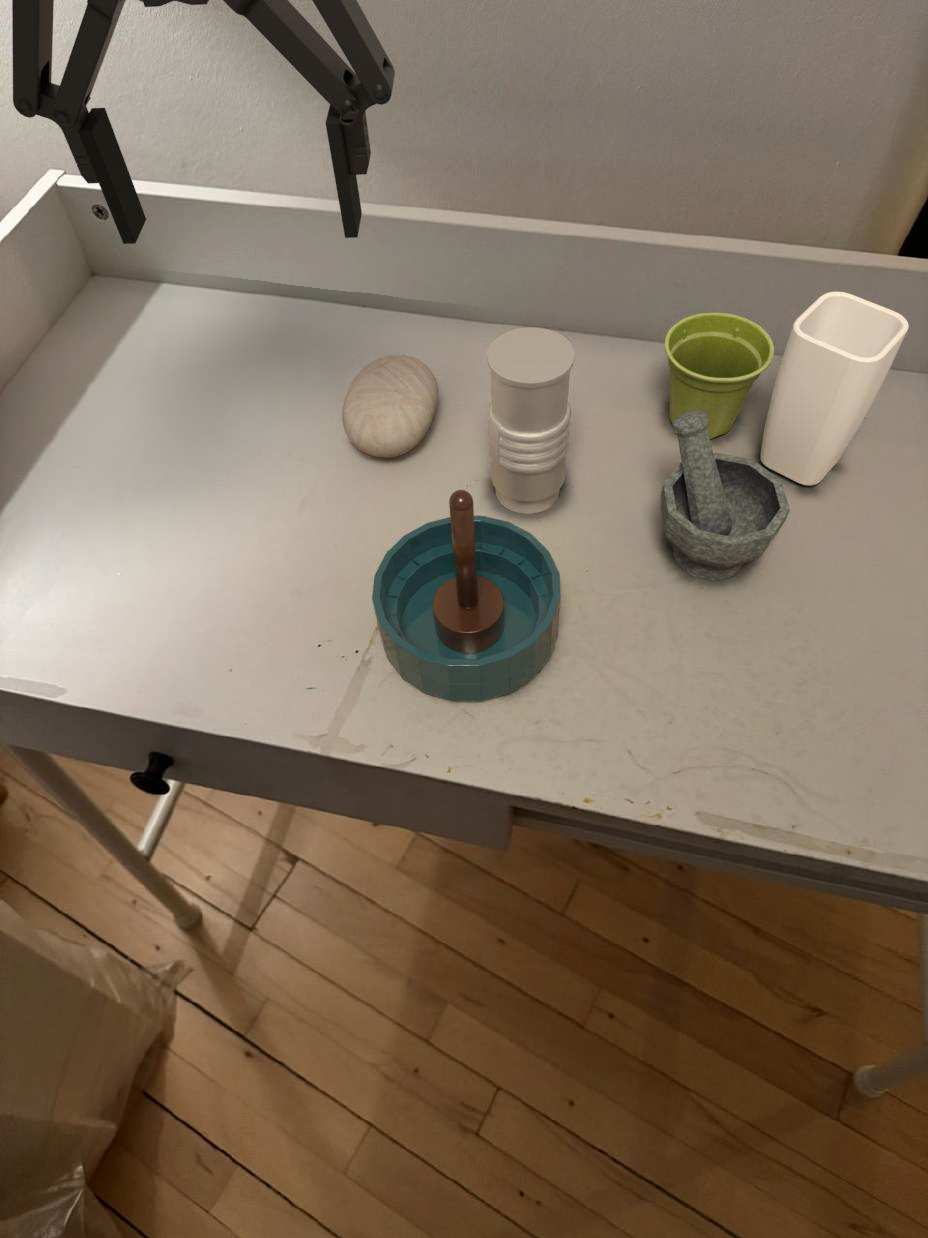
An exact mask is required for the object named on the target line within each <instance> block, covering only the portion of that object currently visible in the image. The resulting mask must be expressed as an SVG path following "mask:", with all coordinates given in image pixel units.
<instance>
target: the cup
mask: <svg viewBox="0 0 928 1238" xmlns="http://www.w3.org/2000/svg"><path fill="white" fill-rule="evenodd" d="M909 328H910V326H909V322H908V320H907V319H906V318H905V317H904V316H903V315H902V314H901V313H899V312H897V311H894V310H892V309H890V308H887V307H885V306H882V305H879V304H877V303H874V302H872V301H869V300H867V299H864V298H862V297H859V296H858V295H857V296H856V295H854V294H852V293H848V292H845V291H830V292H826V293H824V294H822V295H821V296H819V297H818V298H817V299H816V300H815V301H814V302H813V303H812V304H810V306H808V308H807V309H805V311H804V312H803V313H801V314H800V315H799V316H798V317H797V318H796V319H795V321H794V323H793V324H792V327H791V330H790V333H789V337H788V340H787V342H786V346H785V349H784V351H783V355H782V358H781V360H780V365H779V368H778V371H777V374H776V379H775V382H774V384H773V385H774V386H773V388H772V389H773V390H772V393H771V397H770V401H769V405H768V408H767V412H766V419H765V423H764V429H763V435H762V441H761V449H760V461H761V463H762V464H763V465H764V466H765V467H767V468H768V469H770V470H772V471H773V472H776V473H778V474H780V475H781V476H783V477H786V478H787V479H789V480H792V481H794V482H795V483H798V484H801V485H803V486H814V485H817V484H819V483H820V482H821V481H823V479H824V478H825V477H826V476H827V474H829V472H830V471H831V470H832V469H833V468H834V467H835V465H836V464H837V463H838V462H839V461H840V459H841V457H842V456H843V454H844V453H845V451H846V450H847V448H848V446H849V445H850V443H851V442H852V440H853V438H854V437H855V435H856V434H857V432H858V431H859V428H860V427H861V425H862V423H863V422H864V421H865V419H866V416H867V414H868V412H869V411H870V409H871V407H872V405H873V403H874V402H875V399H876V397H877V395H878V394H879V392H880V390H881V388H882V386H883V384H884V381H885V380H886V378H887V376H888V373H889V371H890V370H891V367H892V365H893V363H894V361H895V358H896V356H897V354H898V352H899V350H900V348H901V345H902V343H903V341H904V339H905V337H906V335H907V332H908V330H909Z"/></svg>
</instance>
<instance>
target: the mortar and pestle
mask: <svg viewBox="0 0 928 1238" xmlns="http://www.w3.org/2000/svg"><path fill="white" fill-rule="evenodd" d="M708 424H709V421H708V417H707V415H706V413H705V412H702V411H692V412H687V413H684V414H682V415H679V416H678V417H677V418H676V419H675V420H673V421H672V422H671V426H672V431H673V433H674V434H675V435H676V436H677V440H678V448H679V453H680V454H679V455H680V459H681V462H680V463H679V464H678V466H676V468H675V469H674V470H673V472H672V473H671V474H670V475H669V477H668V478H667V479H666V480H665V482H664V483H663V485H662V489H661V493H660V511H661V516H662V522H663V528H664V534H665V537H666V539H667V540H668V542H669V543H670V545H671V546H672V552H673V557H674V562H675V563H676V564H677V565H678V566H680V568H682V569H683V570H684V571H685V572H686V573H687V574H689V576H691V577H695V578H699V579H703V580H708V581H713V582H717V581H720V580H723V579H726V578H730V577H734V576H736V575H737V574H738V573H739V571H740V570H741V568H742V566H743V565H744V564H748V563H751V562H752V561H754V560H756V559H759V558H761V557H762V556H763V554H764V553H765V551H767V549H768V547H769V546H770V545H771V543H772V541H773V540H774V538H775V537H776V535H777V534H778V533H779V531H780V530H781V528H782V527H783V526H784V524H785V522H786V520H787V518H788V516H789V513H790V511H791V509H790V505H789V502H788V499H787V498H788V497H787V494H786V490H785V487H784V484H783V481H782V480H781V479H779V477H777V476H775V475H774V474H773V473H771V472H770V471H769V470H767V469H766V468H765V467H763V466H762V465H761V464H760V463H758V462H757V461H756V460H754V459H750V458H745V457H740V456H735V455H729V454H724V453H720V452H714V450H713V448H712V443H711V439H709V435H708V432H707V426H708Z"/></svg>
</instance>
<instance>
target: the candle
mask: <svg viewBox="0 0 928 1238" xmlns="http://www.w3.org/2000/svg"><path fill="white" fill-rule="evenodd" d="M486 361H487V367H488V368H489V370H490V394H491V395H490V396H491V397H490V398H491V401H490V402H489V404H488V408H487V418H488V419H487V428H488V432H487V433H488V455H489V457H490V458H491V460H490V461H491V462H490V463H491V464H490V473H489V474H490V481H491V483H492V485H493V487H494V488H495V489H494V491H495V497H496V498H497V500H498V502H499V503H500V504H501V505H502V506H503V507H504V508H506V509H508V510H509V511H511V512H513V513H517V514H525V515H531V514H537V513H541V512H544V511H546V510H548V509H550V508H552V506H554V505H555V503H556V502H557V501H558V499H559V497H560V492H561V491H560V490H561V488H562V486H563V485H564V483H565V481H566V474H567V471H566V456H567V455H568V450H569V443H570V441H569V440H570V428H571V415H572V409H571V403H570V402H569V392H570V391H569V390H570V378H571V376H570V375H571V370H572V369H573V366H574V364H575V363H574V362H575V350H574V346H573V345H572V344H571V342H570V341H569V339H567V338H566V337H565V336H563V335H562V334H561V333H559V332H556V331H554V330H551V329H548V328H543V327H533V326H530V327H529V326H528V327H519V328H516V329H512V330H509V331H506V332H505V333H502V334H500V335H499V336H497V337H496V339H494V340H493V341H492V342H491V343H490V345H489V347H488V349H487V353H486Z"/></svg>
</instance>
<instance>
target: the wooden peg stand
mask: <svg viewBox="0 0 928 1238" xmlns="http://www.w3.org/2000/svg"><path fill="white" fill-rule="evenodd" d="M448 499H449V500H448V505H449V517H450V518H451V529H452V541H453V552H454V564H455V575H456V577H455V578H453V579H450V580H448V581H447V582H445V583H444V584H443V585H442V586H441V587H440V588H439V589H438V590H437V592H436V594H435V596H434V599H433V614H434V622H435V629H436V633H437V636H438V638H439V639H440V640H441V642H442V643H443V644H444V645H445V646H447V647H448V648H450V649H452V650H454V651H456V652H460V653H478V652H481V651H484V650H487V649H488V648H490V647H492V646H493V645H494V644H495V643H496V642H497V641H498V640H499V639H500V637H501V635H502V633H503V630H504V598H503V595H502V592H501V591H500V589H499V588H498V587H497V586H496V585H495V584H494V583H493V582H491V581H490V580H488V579H486V578H484V577H480V576H477V565H476V546H475V527H474V516H475V511H474V499H473V496H472V495H471V493H470V492H469V491H467V490H465V489H457V490H455V491H453V492H452V493H451V495H450V496H449V498H448Z"/></svg>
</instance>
